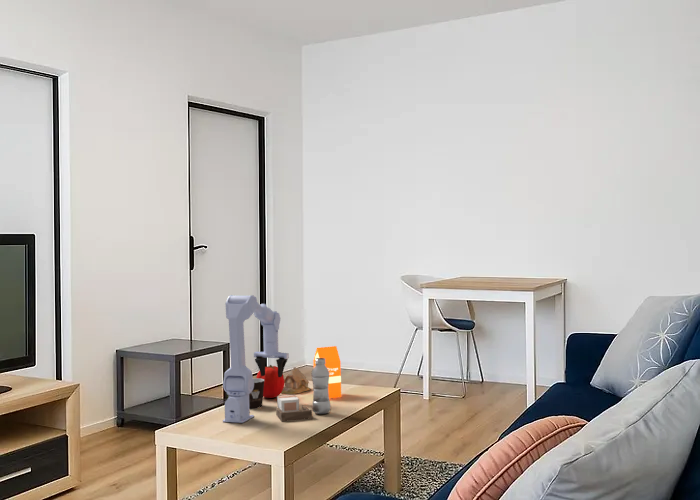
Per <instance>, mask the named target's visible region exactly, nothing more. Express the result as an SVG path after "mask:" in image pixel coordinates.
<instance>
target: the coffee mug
mask: <svg viewBox="0 0 700 500" xmlns="http://www.w3.org/2000/svg"><path fill="white" fill-rule="evenodd" d="M253 379H254V388H253V390H252V392H251V393H250V394H249V410H250V409H253V410H255V409H260V408H262V407H263V401H264V400H263V399H264V397H263V391H264V379H259V378H255V377H253Z"/></svg>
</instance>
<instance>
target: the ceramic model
mask: <svg viewBox="0 0 700 500" xmlns="http://www.w3.org/2000/svg"><path fill="white" fill-rule="evenodd" d="M309 383H310V382H309V380H308V379H307V377H306V376H305V374H304V373H303V372H302V371H301V370H300V369H299V368H298V367H297V366H296V367H295V366H294V367H292V370H290V371H289V372H288V373H287V374H286V376H285V377H284V388H283V390H282V392H281V394H283V395H297V394H299V393H302V392H303V393H304V392H307V391H310V390H312V388H310V386H309Z"/></svg>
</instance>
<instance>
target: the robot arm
mask: <svg viewBox="0 0 700 500" xmlns="http://www.w3.org/2000/svg"><path fill="white" fill-rule="evenodd" d="M224 305H225V317H226V319H227V320H228V328H229V329H228V331H229V353H230V354H229V355H230V367H229V368H228V369H227V370H226V371H225V372H224V374H223V376H224V377H223V382H222V387H223V389H224V391H225V392H226V395H228V398H227V399H226V400H225V403H224V419H223V420H222V422H223V423H224V422H225V423H238V424H239V423H240V424H243V423H246V422H247V421H249V420H251V419H252V418H254V417H255V415H254V414H250V409H249V394H250V393H251V392H252V390H253V388H254V379H253V378H254V377H253V371H252V370H251V369H250V368H248V366H247V365H246V349H245V348H246V347H245V328H244V327H245V326H244V323H245V321H246V320H249V319H250V318H251V317H252V316H253V315H254V317H255V318H257V320H258V321H259V322H260V325H261V326H262V327H263V329H262V330H263V335H262V336H263V337H262V338H263V351H254V352H253V358H255V359H254V361H255V363H256V365H257V367H258V371H260V373H261V376H264V375H265V367H266V362H267V358H268V359H276V360H275V361H276V367H278V377H282V375H283V376H284V369H285V367H286V364H287V362H288V359H289V358H290V354H289V353H288V352H282V351H281V352H279V330H280V323H281V315H280V312H278V311H275V310H272V309H271V308H270V307H268V306H267V304H266V303H261V304H260V303H259V302H258V300H257V297H256V296H255V295H253V294H251V295H235V294H234V295H232V294H231V295H228V297H227V299H226V301H225V304H224Z"/></svg>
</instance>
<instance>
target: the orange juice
mask: <svg viewBox="0 0 700 500" xmlns="http://www.w3.org/2000/svg"><path fill="white" fill-rule="evenodd" d="M316 358H325V362H326V364H325V366H326V367H327V369H328V370H329V383H328V393H329V399H338V398H342V373H341V371H342V368H341V365H342V363H341V359H340V354H339V352H338V348H337V346H336V345H334V346H333V345H332V346H322V347H316V351H315V354H314V357H313V360H312V363H313V368H314V367H315V366H316V364H315V359H316Z"/></svg>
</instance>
